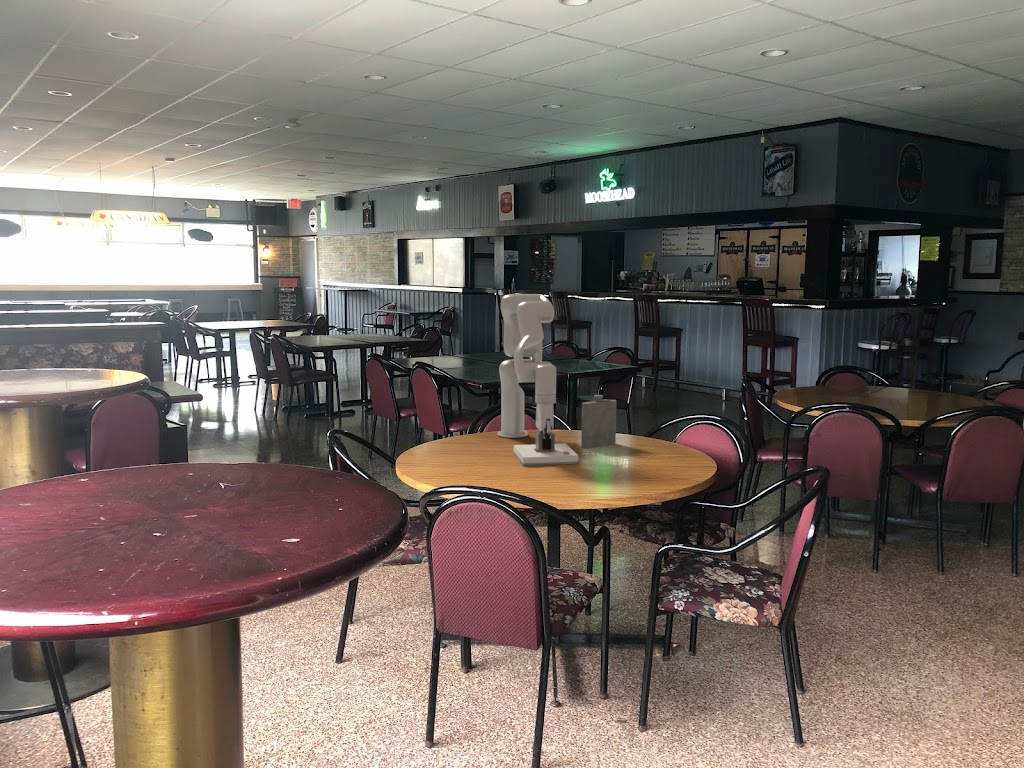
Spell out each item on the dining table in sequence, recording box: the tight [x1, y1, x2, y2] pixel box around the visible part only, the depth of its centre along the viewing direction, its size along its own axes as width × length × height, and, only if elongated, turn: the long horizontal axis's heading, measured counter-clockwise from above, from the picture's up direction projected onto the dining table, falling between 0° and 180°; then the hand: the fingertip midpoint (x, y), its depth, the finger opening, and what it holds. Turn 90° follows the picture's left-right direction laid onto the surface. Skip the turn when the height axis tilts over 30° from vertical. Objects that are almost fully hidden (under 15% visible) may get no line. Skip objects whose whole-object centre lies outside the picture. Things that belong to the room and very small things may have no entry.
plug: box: [535, 430, 556, 452], centre depth 293 cm, size 5×6×7 cm
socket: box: [513, 442, 579, 467], centre depth 294 cm, size 20×20×4 cm
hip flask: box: [580, 394, 617, 449], centre depth 314 cm, size 16×4×20 cm, turn 121°
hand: (545, 447), depth 293 cm, fingers closed on plug, 4 cm apart
